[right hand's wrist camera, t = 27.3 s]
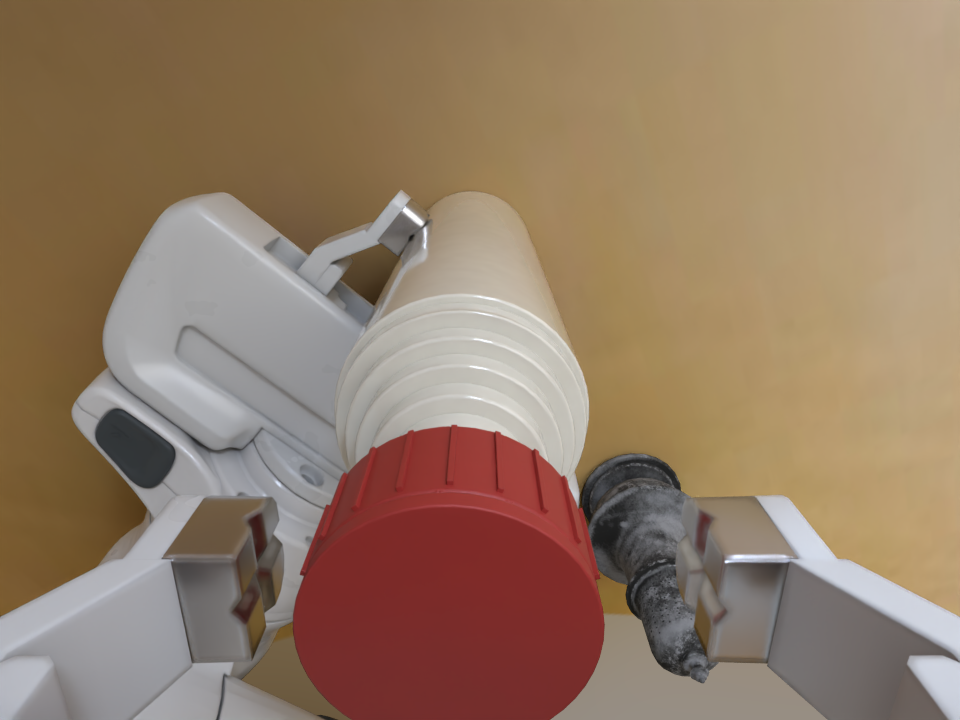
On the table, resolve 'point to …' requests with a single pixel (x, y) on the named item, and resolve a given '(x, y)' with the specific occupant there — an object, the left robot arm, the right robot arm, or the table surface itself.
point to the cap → (450, 584)
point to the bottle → (465, 342)
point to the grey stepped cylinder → (645, 553)
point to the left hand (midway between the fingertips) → (483, 261)
